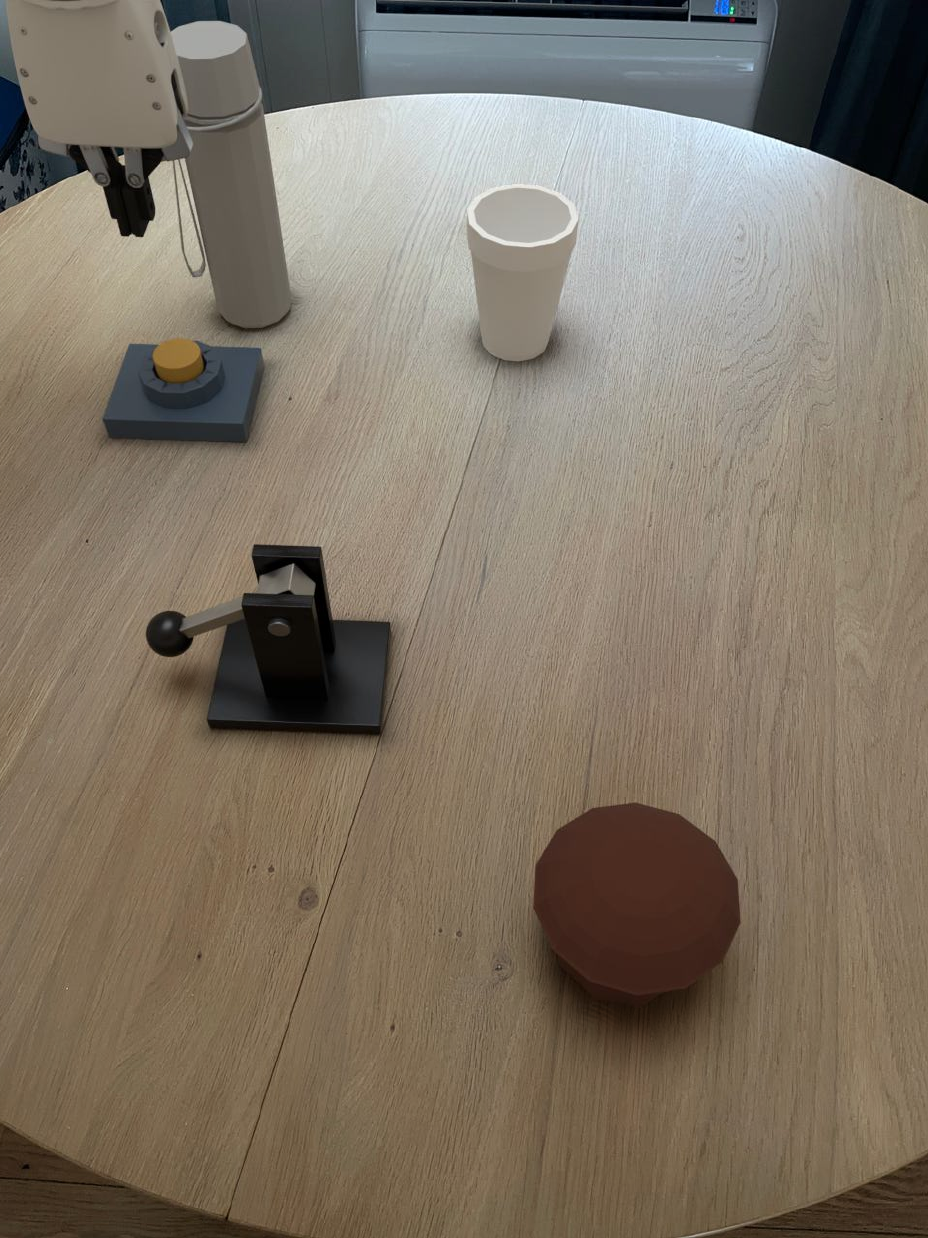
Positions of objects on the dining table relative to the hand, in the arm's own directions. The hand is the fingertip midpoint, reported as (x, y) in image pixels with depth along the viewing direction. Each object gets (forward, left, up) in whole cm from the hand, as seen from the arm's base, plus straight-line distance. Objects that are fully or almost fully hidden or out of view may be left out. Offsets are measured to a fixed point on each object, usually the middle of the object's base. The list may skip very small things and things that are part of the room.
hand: (136, 226), depth 79 cm
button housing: (0, 0, -17) cm, 17 cm away
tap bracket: (+14, -29, -17) cm, 37 cm away
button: (0, 0, -14) cm, 14 cm away
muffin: (+36, -47, -18) cm, 62 cm away
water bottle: (+3, +13, -18) cm, 22 cm away
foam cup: (+29, +10, -18) cm, 36 cm away
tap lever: (+11, -29, -11) cm, 33 cm away
